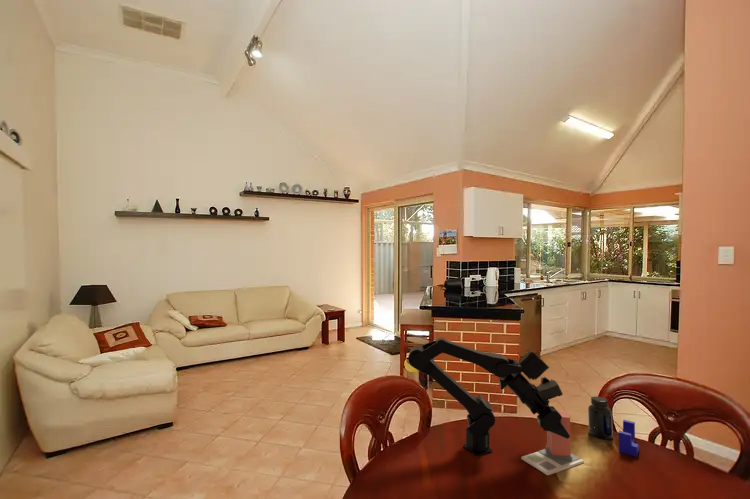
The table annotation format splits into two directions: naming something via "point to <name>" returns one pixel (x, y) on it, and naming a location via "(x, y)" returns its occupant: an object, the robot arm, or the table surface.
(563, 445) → the salmon block on plinth
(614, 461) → the table surface
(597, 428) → the supplement bottle
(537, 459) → the panel board
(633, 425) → the blue cradle bracket
